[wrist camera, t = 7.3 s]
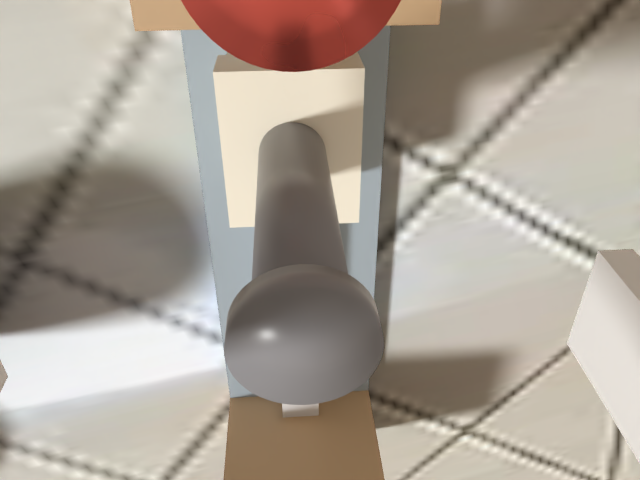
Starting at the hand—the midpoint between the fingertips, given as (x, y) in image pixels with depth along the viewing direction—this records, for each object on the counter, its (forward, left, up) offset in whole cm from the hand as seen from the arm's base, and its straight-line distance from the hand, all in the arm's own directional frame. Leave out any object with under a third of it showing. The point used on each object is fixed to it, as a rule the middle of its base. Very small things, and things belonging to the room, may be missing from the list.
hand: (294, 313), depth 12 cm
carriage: (0, 0, -13) cm, 13 cm away
